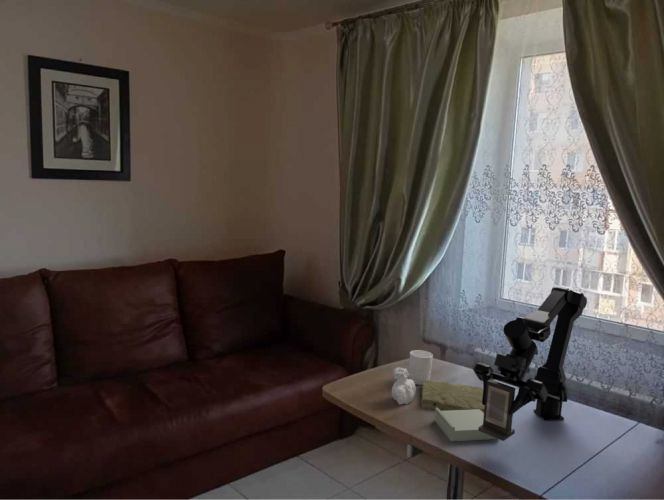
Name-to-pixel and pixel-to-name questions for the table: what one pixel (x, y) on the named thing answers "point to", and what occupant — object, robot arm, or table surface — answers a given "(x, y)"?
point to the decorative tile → (451, 396)
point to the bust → (403, 386)
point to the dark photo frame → (498, 410)
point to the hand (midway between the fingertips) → (496, 409)
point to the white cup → (420, 366)
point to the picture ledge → (461, 424)
